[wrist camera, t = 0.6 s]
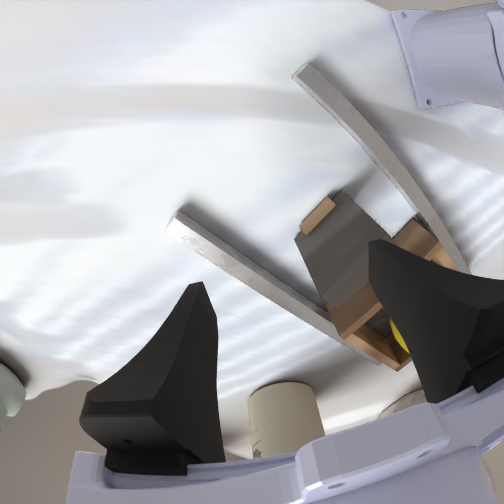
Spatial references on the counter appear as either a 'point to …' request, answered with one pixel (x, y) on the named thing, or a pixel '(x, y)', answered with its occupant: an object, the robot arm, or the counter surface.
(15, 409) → the air freshener
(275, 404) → the travel mug
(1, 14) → the counter surface
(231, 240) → the counter surface
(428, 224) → the lane rails
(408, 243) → the wooden tray
